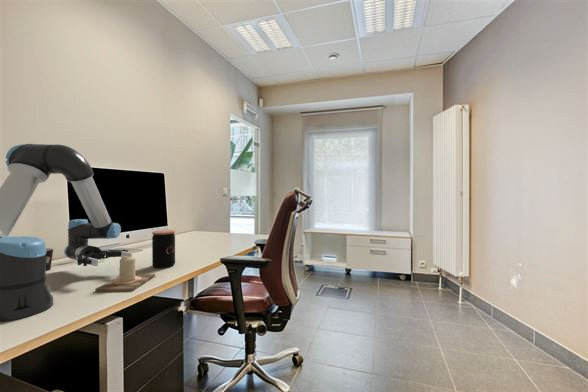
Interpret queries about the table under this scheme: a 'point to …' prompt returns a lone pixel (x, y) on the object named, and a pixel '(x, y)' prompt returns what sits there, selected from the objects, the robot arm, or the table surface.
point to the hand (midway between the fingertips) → (114, 259)
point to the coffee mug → (49, 258)
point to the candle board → (125, 284)
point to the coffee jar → (163, 248)
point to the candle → (127, 268)
